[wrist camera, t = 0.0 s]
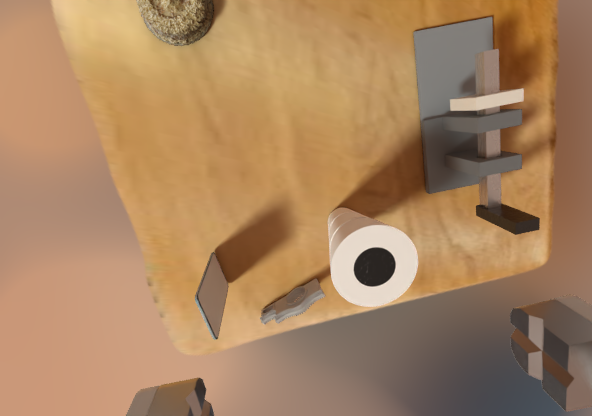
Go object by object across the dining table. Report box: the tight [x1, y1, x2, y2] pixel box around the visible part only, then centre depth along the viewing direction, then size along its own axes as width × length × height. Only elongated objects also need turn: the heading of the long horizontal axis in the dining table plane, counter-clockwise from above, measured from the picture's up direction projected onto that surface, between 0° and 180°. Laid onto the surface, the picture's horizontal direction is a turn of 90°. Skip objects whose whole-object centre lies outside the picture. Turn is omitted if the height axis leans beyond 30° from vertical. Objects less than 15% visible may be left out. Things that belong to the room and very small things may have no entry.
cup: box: [328, 207, 418, 307], centre depth 49 cm, size 11×11×18 cm
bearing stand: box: [421, 109, 522, 194], centre depth 51 cm, size 12×12×10 cm
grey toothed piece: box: [260, 279, 325, 324], centre depth 58 cm, size 12×2×6 cm, turn 121°
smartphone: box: [195, 252, 228, 340], centre depth 51 cm, size 7×1×15 cm, turn 18°
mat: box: [414, 17, 493, 121], centre depth 53 cm, size 13×12×1 cm
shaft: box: [475, 49, 540, 235], centre depth 45 cm, size 23×3×8 cm, turn 11°
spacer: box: [450, 88, 524, 111], centre depth 47 cm, size 2×6×6 cm, turn 101°
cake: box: [136, 0, 214, 46], centre depth 45 cm, size 10×10×5 cm
